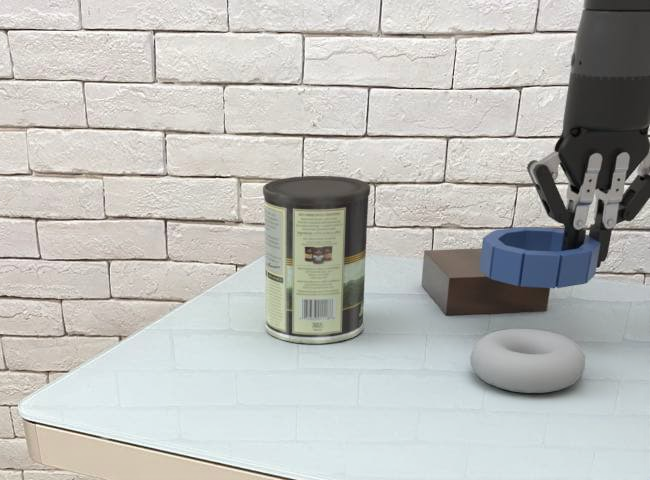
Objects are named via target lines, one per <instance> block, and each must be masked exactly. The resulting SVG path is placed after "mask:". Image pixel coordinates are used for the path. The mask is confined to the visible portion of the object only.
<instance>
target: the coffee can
mask: <svg viewBox="0 0 650 480" xmlns="http://www.w3.org/2000/svg"><path fill="white" fill-rule="evenodd" d="M262 194H263V197H264V199H263V200H264V201H263V202H264V252H265V253H264V258H265V260H264V263H265V264H264V269H265V270H264V271H265V277H264V278H265V283H264V284H265V287H264V289H265V325H264V328H265V331H266V332H267V333H268V334H269V335H271V337H274V338H276V339H280V340H282V341H286V342H291V343H295V344H307V345H308V344H309V345H310V344H311V345H317V344H318V345H321V344H331V343H332V344H333V343H339V342H343V341H346V340H349V339H352V338H354V337H356V336H357V337H358V335H360V334H361V333H362V332H363V330H364V307H365V306H364V304H365V279H366V277H365V276H366V258H367V257H366V253H367V238H368V237H367V235H368V234H367V233H368V232H367V231H368V215H369V214H368V211H369V196H370V194H371V185H370V184H369V183H368V182H366V181H364V180H361V179H357V178H353V177H345V176H335V175H303V176H292V177H285V178H279V179H276V180H272V181H269V182H268V183H266V184H264V185H263V186H262Z"/></svg>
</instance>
